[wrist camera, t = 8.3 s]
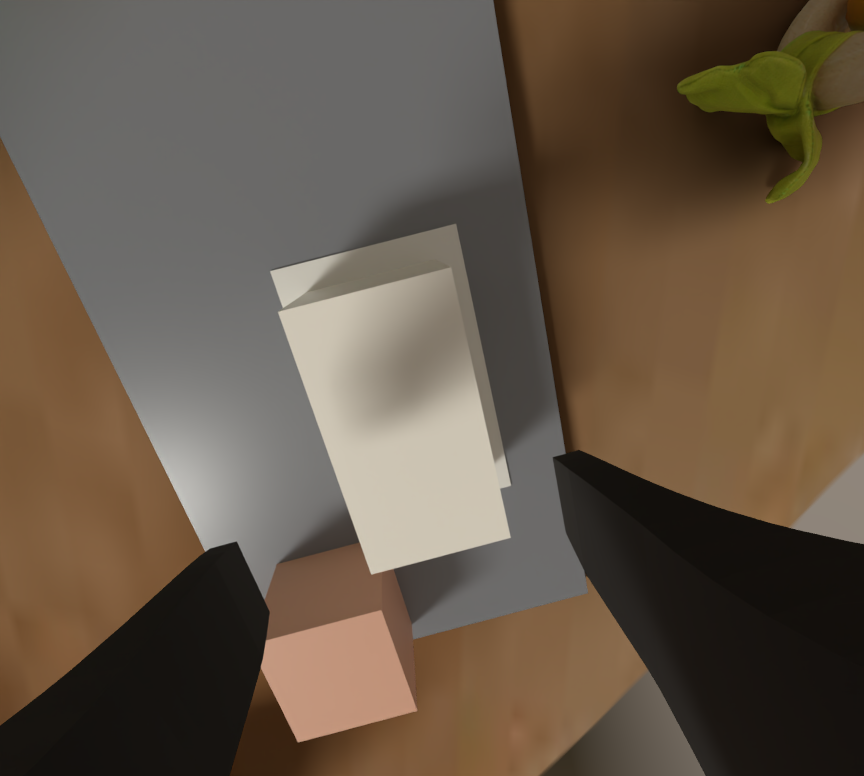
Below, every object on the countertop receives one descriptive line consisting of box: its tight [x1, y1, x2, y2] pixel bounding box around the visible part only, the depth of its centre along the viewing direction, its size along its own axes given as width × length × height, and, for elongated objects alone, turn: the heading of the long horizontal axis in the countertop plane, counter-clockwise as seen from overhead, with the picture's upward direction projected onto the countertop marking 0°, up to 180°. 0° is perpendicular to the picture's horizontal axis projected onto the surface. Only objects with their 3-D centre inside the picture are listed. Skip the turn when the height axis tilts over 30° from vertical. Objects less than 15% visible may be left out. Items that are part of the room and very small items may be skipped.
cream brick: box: [278, 259, 511, 575], centre depth 16 cm, size 5×9×4 cm, turn 14°
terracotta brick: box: [261, 542, 417, 742], centre depth 19 cm, size 5×5×4 cm
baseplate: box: [0, 0, 588, 639], centre depth 18 cm, size 16×30×1 cm, turn 14°
